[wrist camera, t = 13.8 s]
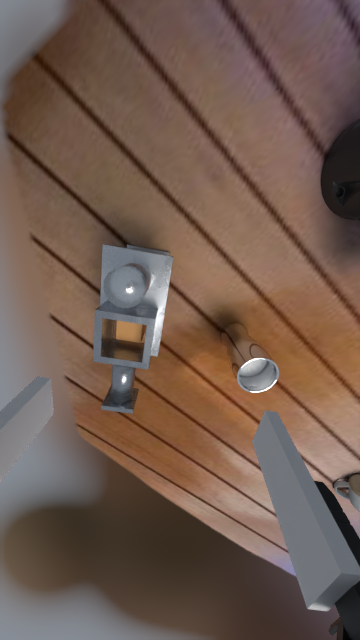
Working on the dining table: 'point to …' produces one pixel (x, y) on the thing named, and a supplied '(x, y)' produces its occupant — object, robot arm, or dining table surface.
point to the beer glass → (249, 359)
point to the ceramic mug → (350, 490)
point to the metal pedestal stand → (136, 282)
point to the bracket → (123, 352)
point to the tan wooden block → (130, 331)
